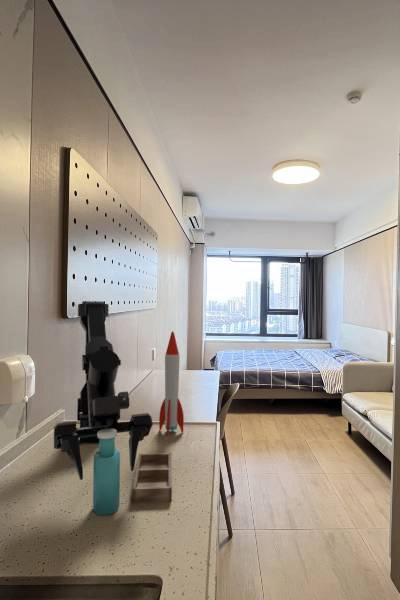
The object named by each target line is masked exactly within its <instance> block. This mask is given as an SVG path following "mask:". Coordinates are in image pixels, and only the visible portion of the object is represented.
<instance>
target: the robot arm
mask: <svg viewBox="0 0 400 600" xmlns="http://www.w3.org/2000/svg"><path fill="white" fill-rule="evenodd" d="M109 309H110V308H109V303H105V302H104V301H100V300H99V301H89V300H87V301H86V300H83V301H82V302H81V303H77V318H79V324H80V325H81V327H82V328H83V331H84V332H85V346H84V347H85V348H84V349H85V350H84V354H82V357H81V370H82V371H84V374H85V383H84V385H83V387H82V389H81V390H80V392H79V398H77V403H76V420H77V421H67V422H59V423H56V424H55V426H54V427H53V449H55V450H60V452H61V453H66V454H67V455H68V457H69V459H70V460H71V462H72V464H73V465H74V468H75V471H76V474H77V475H78V478H79V480H80V481H82V480H83V479H84V475H83V473H84V471H83V468H84V467H83V461H82V456H81V450H80V444H99V438H98V437H97V432H98V431H100V430H103V429H115V430H117V434H120V433H128V434H129V439H128V452H129V453H128V454H129V466H130V467H129V468H130V471H131V472H132V471H134V469H135V465H136V459H137V452H138V447H139V443H140V442H142V441H143V440H144V438H145V437H147V436H149V435H150V432H151V429H152V427H153V423H154V422H153V418H152V415H150V414H149V412H145V413H144V412H143V413H138V414H137V413H136V414H131V417H130V420H129V421H122V422H119V420H120V419H121V410H125V409H126V410H127V409H129V408H130V396H129V395H130V394H129V391H128V390H126V391H119V392H118V393H117V395H116V391H115V382H116V379H117V375H118V371H119V366H122V362H121V361H122V360H121V359H120V357H119V356H118V354H117V353H116V352H115V351H114V348H113V344H112V343H111V342H110V341H109V340H108V338H107V332H106V324H105V322H106V318H107V317H109V314H110V313H109ZM77 422H79V427H77Z"/></svg>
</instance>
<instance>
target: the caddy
mask: <svg viewBox="0 0 400 600" xmlns="http://www.w3.org/2000/svg"><path fill="white" fill-rule="evenodd" d="M135 468H136V469H135V474H134V479H133V484H132V490H131V491H132V493H131V494H132V496H131V498H132V499H131V503H132V504H133V503H134V504H135V503H157V502H158V503H160V502H161V503H162V502H172V501H173V499H172V493H173V483H172V479H173V478H172V477H173V476H172V475H173V474H172V452H162V453H161V452H156V453H154V452H153V453H150V452H149V453H139V454H138V458H137V464H136V467H135Z"/></svg>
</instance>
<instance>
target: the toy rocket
mask: <svg viewBox="0 0 400 600" xmlns="http://www.w3.org/2000/svg"><path fill="white" fill-rule="evenodd" d="M175 335H176V334H175V333H174V331H173V330H172V332H171V333H170V337H169V340H168V345H167V346H166V347H167V348H166V352H165V355H164V389H165V390H164V399H163V401H162V404H161V405H160V410H159V421H158V422H159V423H158V425H159V428H158V429H159V432H160V431H161V430H162V428H163V425H164V424H165V430H166V437H169V434H170V431H174V430H176V429H178V426H179V429H180V431H181V433H182V434H184V423H185V421H184V410H183V409H184V408H183V406H182V404H181V401H180V399H179V386H180V385H179V384H180V383H179V381H180V353H179V349H178V345H177V340H176V336H175Z"/></svg>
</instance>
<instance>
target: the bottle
mask: <svg viewBox="0 0 400 600" xmlns="http://www.w3.org/2000/svg"><path fill="white" fill-rule="evenodd" d="M117 435H118V433H117V430H115V429H103V430H100V431H98V432H97V437H98V438H99V443H98V445H99V447H98V448H99V449H98V451H96V452H95V453H94V454H93V469H92V470H93V481H92V482H93V483H92V484H93V486H92V487H93V490H92V497H93V498H92V499H93V500H92V506H93V507H92V510H93V513H94V514H96V515H98V516H108V515H112V514H113V513H115V512H117V511H118V510H119V508H120V498H121V497H120V494H121V493H120V486H121V484H120V483H121V482H120V481H121V475H120V474H121V471H120V469H121V464H120V463H121V452H120V450H118V449H115V448H116V447H115V446H116V443H115V442H116V441H115V439H116V437H117Z"/></svg>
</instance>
